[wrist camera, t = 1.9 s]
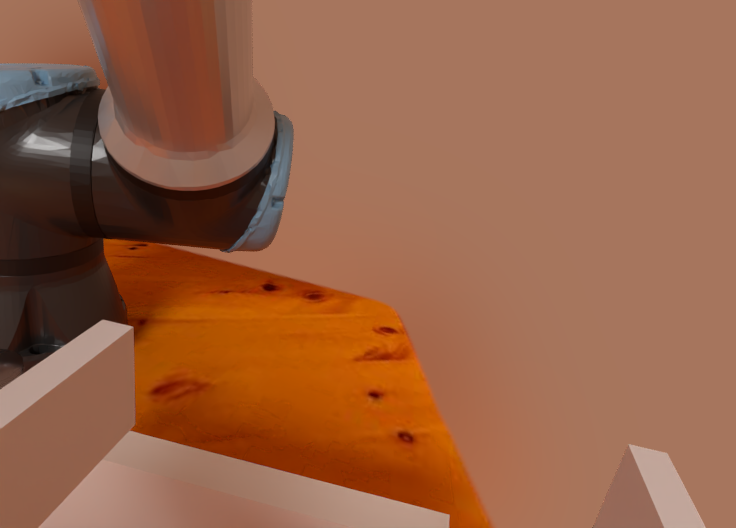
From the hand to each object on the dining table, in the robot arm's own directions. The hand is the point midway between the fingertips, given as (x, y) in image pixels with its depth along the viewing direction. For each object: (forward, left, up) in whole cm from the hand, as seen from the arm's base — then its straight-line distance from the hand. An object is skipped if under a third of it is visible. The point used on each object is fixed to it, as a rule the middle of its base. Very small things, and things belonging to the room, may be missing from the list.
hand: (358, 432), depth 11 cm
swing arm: (-8, -6, -18) cm, 20 cm away
